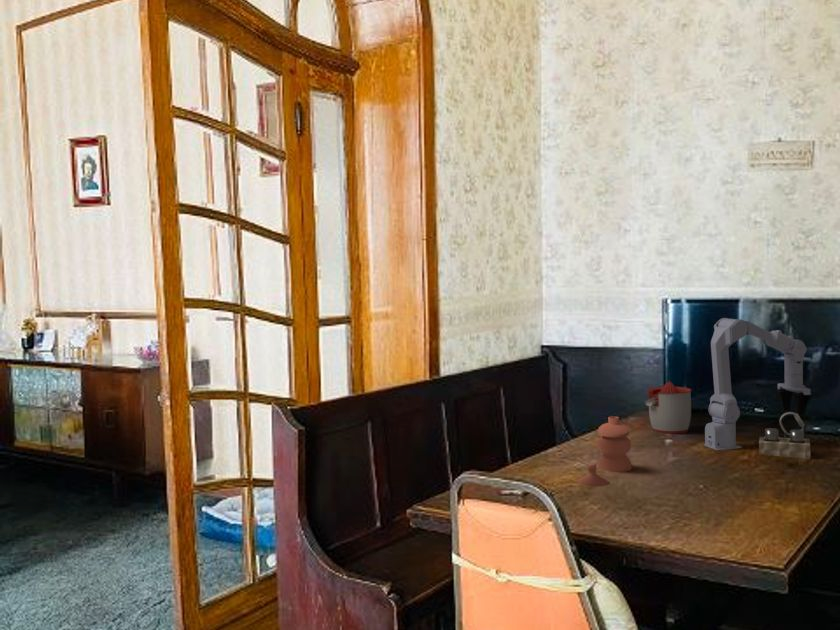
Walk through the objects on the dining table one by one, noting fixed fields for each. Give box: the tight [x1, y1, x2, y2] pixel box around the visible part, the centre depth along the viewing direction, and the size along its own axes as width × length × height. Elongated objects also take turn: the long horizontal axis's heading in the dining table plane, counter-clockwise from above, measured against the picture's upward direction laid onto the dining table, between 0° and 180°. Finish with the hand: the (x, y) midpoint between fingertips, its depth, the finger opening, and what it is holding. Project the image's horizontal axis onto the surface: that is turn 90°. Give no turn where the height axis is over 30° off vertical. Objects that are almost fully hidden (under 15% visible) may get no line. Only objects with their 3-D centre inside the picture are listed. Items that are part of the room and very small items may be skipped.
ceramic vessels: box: [577, 416, 632, 487], centre depth 226 cm, size 35×21×19 cm, turn 148°
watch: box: [778, 411, 806, 438], centre depth 272 cm, size 6×8×11 cm
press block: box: [758, 436, 811, 460], centre depth 256 cm, size 15×9×5 cm, turn 65°
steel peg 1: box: [764, 427, 779, 442], centre depth 258 cm, size 4×4×5 cm
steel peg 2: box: [789, 429, 805, 443], centre depth 254 cm, size 4×4×5 cm
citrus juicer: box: [645, 381, 692, 435], centre depth 293 cm, size 16×17×20 cm
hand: (793, 412), depth 271 cm, fingers open, 7 cm apart
